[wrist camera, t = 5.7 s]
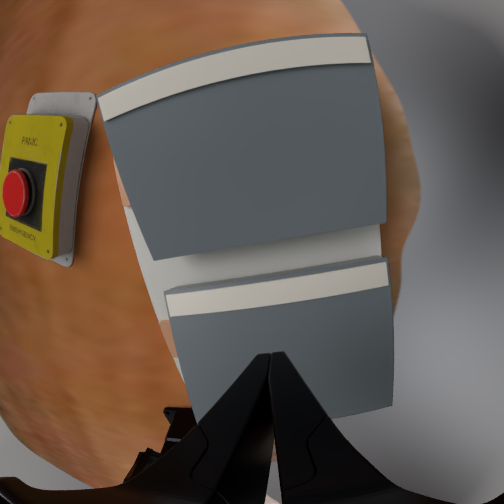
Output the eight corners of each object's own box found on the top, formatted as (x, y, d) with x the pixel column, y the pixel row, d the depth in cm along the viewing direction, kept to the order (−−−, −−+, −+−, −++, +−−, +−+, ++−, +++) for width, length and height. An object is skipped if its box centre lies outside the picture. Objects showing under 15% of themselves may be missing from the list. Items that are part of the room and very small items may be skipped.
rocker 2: (383, 390, 15) (393, 407, 13) (206, 411, 17) (197, 428, 15) (376, 255, 15) (389, 257, 13) (177, 286, 17) (162, 292, 14)
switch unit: (370, 352, 20) (382, 382, 17) (195, 372, 23) (184, 402, 19) (336, 61, 14) (349, 38, 11) (124, 110, 16) (94, 101, 13)
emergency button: (-11, 252, 17) (4, 89, 12) (18, 239, 21) (36, 93, 17) (46, 286, 17) (69, 83, 12) (76, 267, 21) (103, 93, 17)
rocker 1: (372, 206, 14) (387, 224, 12) (164, 241, 16) (152, 263, 14) (352, 40, 10) (368, 32, 8) (115, 93, 11) (93, 96, 9)
